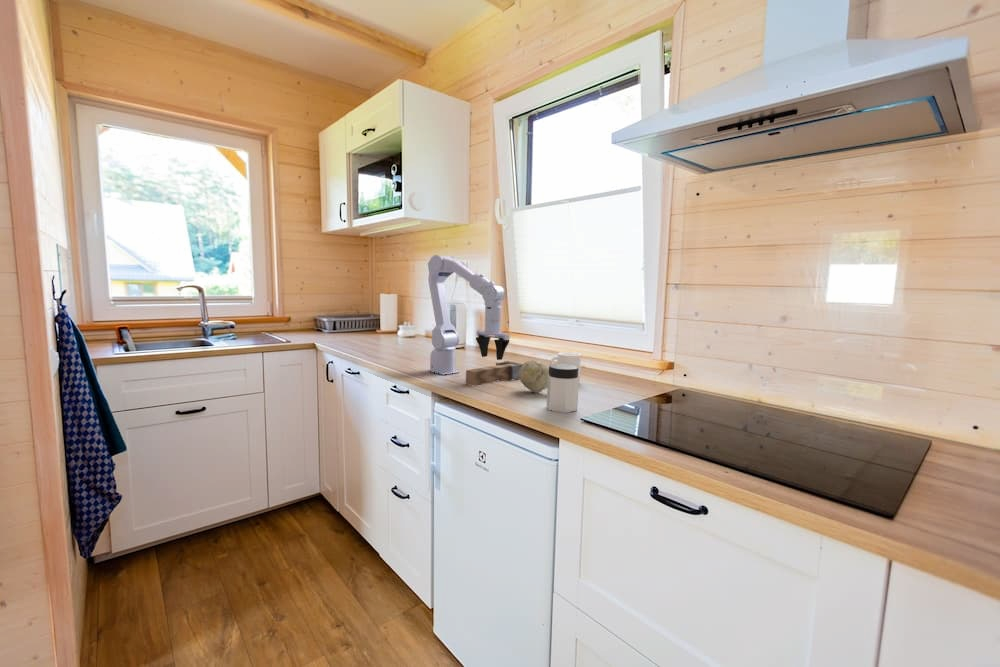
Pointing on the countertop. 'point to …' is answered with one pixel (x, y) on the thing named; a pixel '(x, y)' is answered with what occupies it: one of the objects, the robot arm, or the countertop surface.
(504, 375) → the rail
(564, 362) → the mug
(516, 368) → the bracket
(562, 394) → the jar
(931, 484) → the countertop surface
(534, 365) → the decorative item
